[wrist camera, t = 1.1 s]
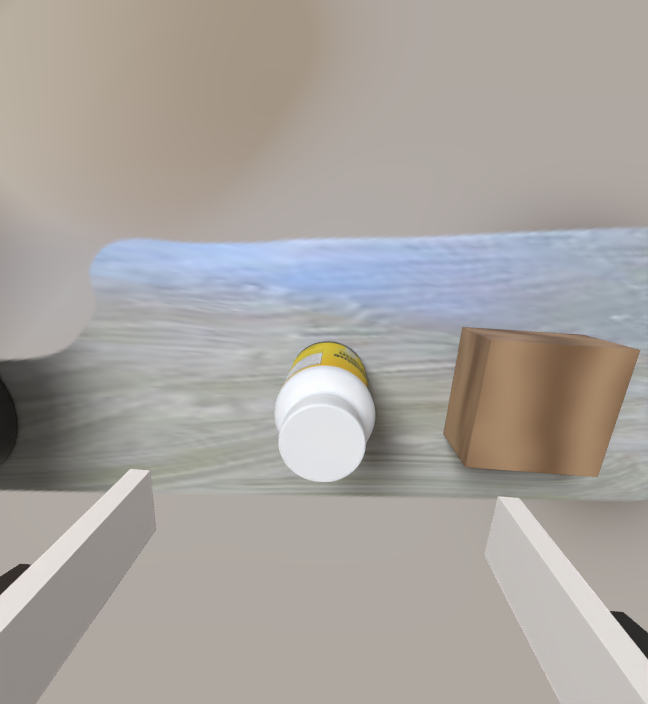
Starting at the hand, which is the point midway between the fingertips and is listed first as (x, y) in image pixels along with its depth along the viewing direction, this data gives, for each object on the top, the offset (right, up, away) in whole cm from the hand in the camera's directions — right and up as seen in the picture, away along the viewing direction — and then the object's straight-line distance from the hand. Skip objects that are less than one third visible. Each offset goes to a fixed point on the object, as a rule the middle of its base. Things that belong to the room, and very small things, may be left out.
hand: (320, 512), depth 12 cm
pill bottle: (0, +4, +16) cm, 17 cm away
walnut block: (+16, +3, +15) cm, 23 cm away
